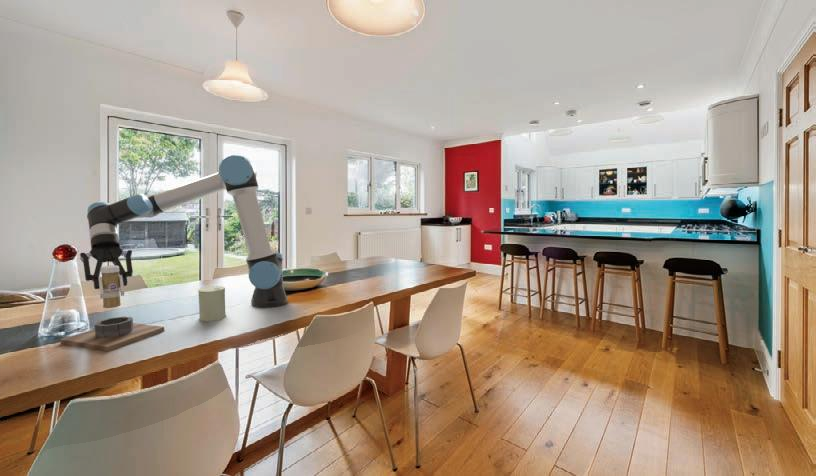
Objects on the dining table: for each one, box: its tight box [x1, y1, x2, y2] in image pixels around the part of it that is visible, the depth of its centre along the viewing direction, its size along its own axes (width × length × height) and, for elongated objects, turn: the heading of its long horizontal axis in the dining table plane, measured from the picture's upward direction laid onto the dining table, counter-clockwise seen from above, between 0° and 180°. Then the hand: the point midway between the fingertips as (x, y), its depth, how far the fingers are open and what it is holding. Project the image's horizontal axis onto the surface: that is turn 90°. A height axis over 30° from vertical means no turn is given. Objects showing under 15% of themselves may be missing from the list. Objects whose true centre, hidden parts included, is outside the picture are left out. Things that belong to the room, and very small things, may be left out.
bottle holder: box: [59, 316, 165, 352], centre depth 113 cm, size 20×18×6 cm
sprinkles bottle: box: [100, 264, 122, 309], centre depth 112 cm, size 5×5×14 cm
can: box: [198, 285, 227, 322], centre depth 135 cm, size 9×9×12 cm
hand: (112, 294), depth 110 cm, fingers closed on sprinkles bottle, 4 cm apart
